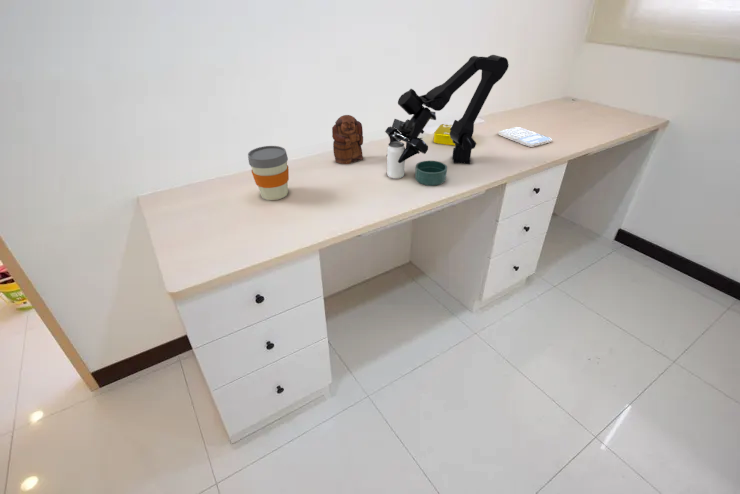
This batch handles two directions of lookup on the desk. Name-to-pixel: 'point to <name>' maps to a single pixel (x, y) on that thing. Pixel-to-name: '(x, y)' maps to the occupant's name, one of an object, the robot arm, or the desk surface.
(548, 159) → the desk surface
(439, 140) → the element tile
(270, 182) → the reusable coffee cup
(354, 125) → the wooden figurine
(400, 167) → the can
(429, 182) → the bowl
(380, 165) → the desk surface
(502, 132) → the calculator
